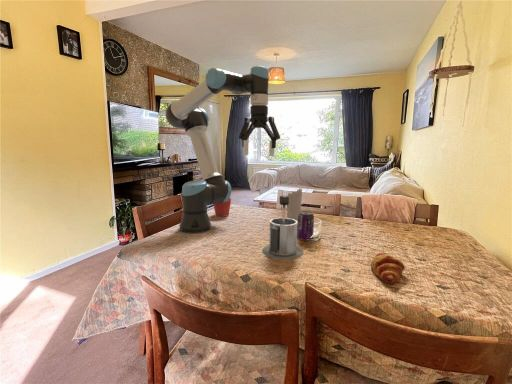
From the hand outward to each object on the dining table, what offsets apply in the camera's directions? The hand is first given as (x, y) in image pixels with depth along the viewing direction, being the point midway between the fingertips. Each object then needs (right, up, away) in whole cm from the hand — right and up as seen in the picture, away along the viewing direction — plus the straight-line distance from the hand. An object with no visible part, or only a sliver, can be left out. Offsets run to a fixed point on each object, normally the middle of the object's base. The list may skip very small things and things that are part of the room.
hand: (258, 155), depth 124 cm
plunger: (+9, -36, -15) cm, 40 cm away
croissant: (+43, -44, -29) cm, 68 cm away
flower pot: (-21, -30, +42) cm, 55 cm away
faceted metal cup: (+9, -39, -14) cm, 43 cm away
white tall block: (+16, -33, +25) cm, 45 cm away
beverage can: (+21, -37, +3) cm, 43 cm away
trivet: (+9, -40, -14) cm, 43 cm away
